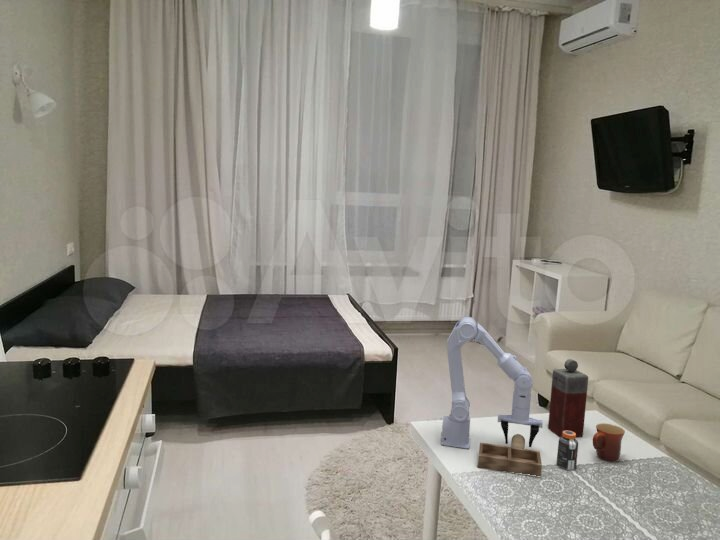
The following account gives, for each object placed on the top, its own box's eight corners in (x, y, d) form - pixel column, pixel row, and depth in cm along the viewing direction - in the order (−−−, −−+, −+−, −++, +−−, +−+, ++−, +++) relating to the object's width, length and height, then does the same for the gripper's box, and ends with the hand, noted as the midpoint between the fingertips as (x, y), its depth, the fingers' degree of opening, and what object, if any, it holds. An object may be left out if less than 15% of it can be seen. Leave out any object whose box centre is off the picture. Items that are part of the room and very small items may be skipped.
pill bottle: (577, 471, 167) (581, 437, 166) (558, 469, 168) (561, 435, 167) (574, 462, 173) (577, 429, 171) (555, 460, 174) (557, 427, 172)
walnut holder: (477, 467, 167) (478, 455, 166) (479, 453, 176) (479, 442, 176) (540, 477, 162) (541, 465, 161) (538, 463, 172) (539, 451, 171)
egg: (510, 452, 178) (512, 436, 178) (510, 447, 183) (512, 431, 182) (524, 454, 177) (525, 438, 177) (524, 449, 181) (525, 432, 181)
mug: (604, 450, 183) (607, 421, 182) (627, 461, 175) (630, 431, 174) (580, 456, 178) (583, 427, 176) (603, 468, 170) (606, 437, 169)
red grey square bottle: (564, 424, 204) (571, 354, 201) (583, 437, 193) (590, 362, 190) (544, 425, 202) (550, 354, 199) (561, 438, 191) (568, 363, 188)
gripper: (542, 404, 180) (539, 442, 182) (499, 399, 184) (496, 436, 185) (544, 412, 173) (541, 451, 175) (498, 406, 177) (496, 444, 179)
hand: (518, 444), depth 180 cm, fingers open, 7 cm apart
